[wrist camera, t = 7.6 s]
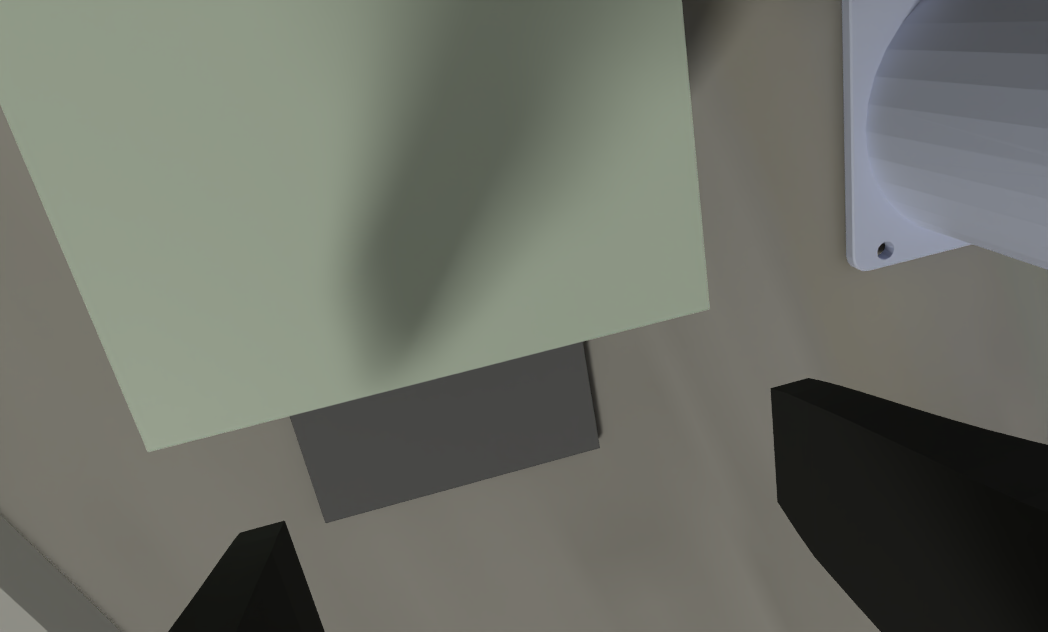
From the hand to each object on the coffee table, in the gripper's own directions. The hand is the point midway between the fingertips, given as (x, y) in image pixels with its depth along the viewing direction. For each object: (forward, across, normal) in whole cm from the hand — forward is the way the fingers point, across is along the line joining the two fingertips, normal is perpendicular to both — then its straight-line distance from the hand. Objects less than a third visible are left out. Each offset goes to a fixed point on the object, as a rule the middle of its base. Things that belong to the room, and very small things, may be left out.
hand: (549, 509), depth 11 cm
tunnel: (+10, +1, -6) cm, 12 cm away
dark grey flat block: (+10, +1, +3) cm, 10 cm away
